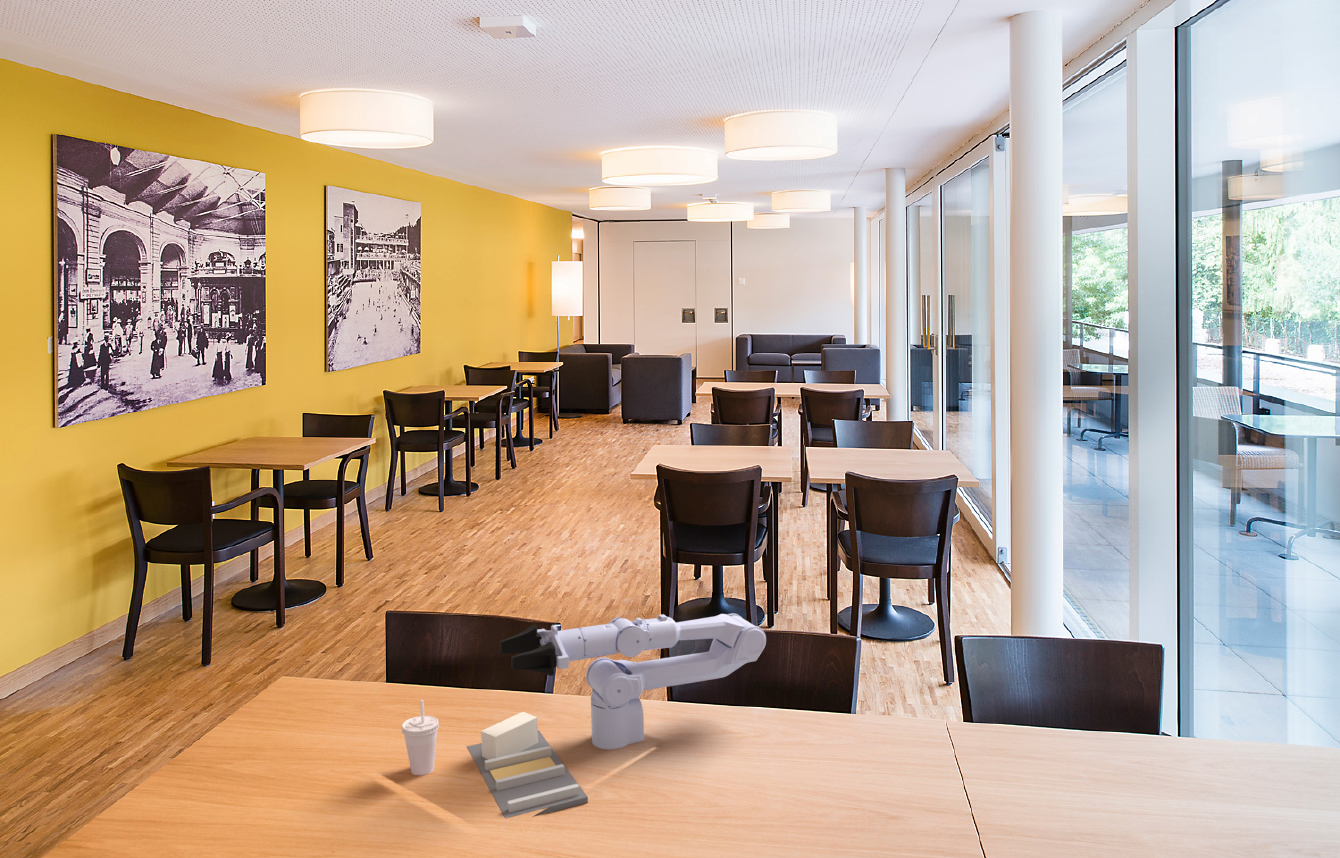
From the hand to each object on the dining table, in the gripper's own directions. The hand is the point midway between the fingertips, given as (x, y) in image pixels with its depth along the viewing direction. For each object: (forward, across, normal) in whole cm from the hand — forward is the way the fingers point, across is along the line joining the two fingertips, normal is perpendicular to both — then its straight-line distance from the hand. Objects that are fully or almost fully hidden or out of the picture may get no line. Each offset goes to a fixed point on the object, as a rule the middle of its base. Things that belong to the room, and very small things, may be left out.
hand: (506, 655), depth 161 cm
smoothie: (+14, -4, +22) cm, 26 cm away
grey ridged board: (-2, +4, +21) cm, 22 cm away
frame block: (-2, -4, +20) cm, 21 cm away
